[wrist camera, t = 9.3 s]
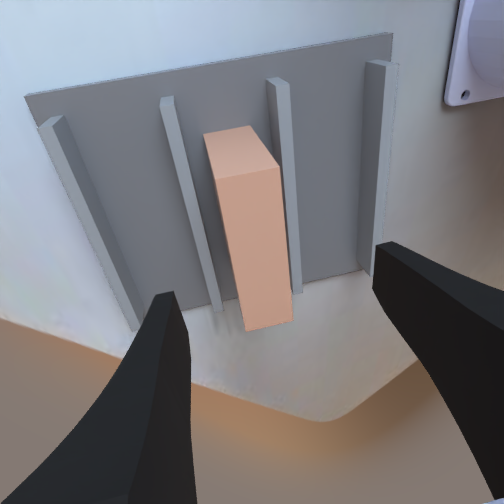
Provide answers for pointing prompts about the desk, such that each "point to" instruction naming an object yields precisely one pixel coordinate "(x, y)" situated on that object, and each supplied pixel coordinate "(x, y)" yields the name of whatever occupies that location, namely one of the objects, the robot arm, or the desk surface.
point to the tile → (252, 224)
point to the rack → (199, 174)
